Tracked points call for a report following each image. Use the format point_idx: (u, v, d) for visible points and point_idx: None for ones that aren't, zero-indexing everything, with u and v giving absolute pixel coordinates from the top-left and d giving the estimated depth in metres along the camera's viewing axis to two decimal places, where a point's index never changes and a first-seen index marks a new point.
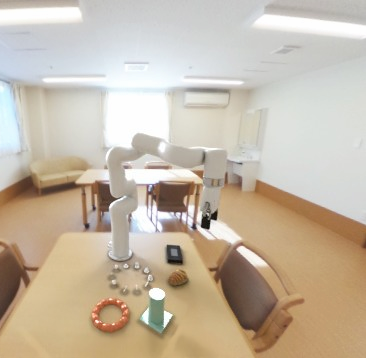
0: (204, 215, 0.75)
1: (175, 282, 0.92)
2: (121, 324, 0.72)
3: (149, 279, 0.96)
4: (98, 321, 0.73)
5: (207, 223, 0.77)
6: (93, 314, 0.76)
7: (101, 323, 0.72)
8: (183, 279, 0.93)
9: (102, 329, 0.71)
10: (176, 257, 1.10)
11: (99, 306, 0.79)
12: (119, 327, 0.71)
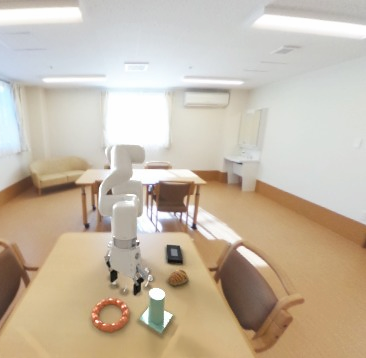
0: None
1: (175, 282, 0.92)
2: (121, 324, 0.72)
3: (149, 279, 0.96)
4: (98, 321, 0.73)
5: None
6: (93, 314, 0.76)
7: (101, 323, 0.72)
8: (183, 279, 0.93)
9: (102, 329, 0.71)
10: (176, 257, 1.10)
11: (99, 306, 0.79)
12: (119, 327, 0.71)
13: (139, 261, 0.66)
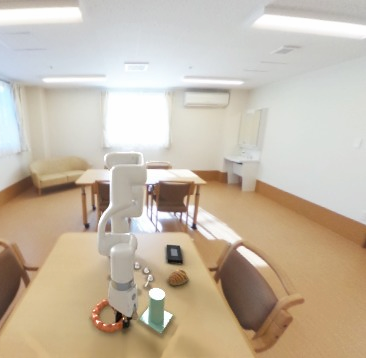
0: None
1: (175, 282, 0.92)
2: (121, 324, 0.72)
3: (149, 279, 0.96)
4: (98, 321, 0.73)
5: None
6: (93, 314, 0.76)
7: (101, 323, 0.72)
8: (183, 279, 0.93)
9: (102, 329, 0.71)
10: (176, 257, 1.10)
11: (99, 306, 0.79)
12: (119, 327, 0.71)
13: (136, 301, 0.69)
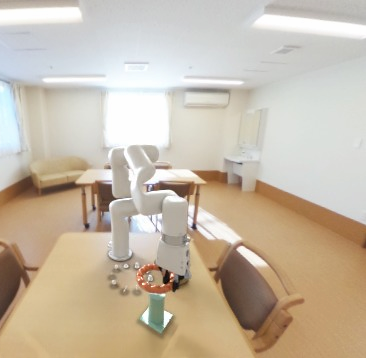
0: None
1: None
2: (171, 285, 0.67)
3: (149, 279, 0.96)
4: (145, 283, 0.68)
5: (163, 279, 0.69)
6: (138, 277, 0.71)
7: (149, 284, 0.67)
8: (183, 279, 0.93)
9: (151, 290, 0.66)
10: None
11: (142, 270, 0.74)
12: (169, 288, 0.66)
13: (189, 258, 0.64)
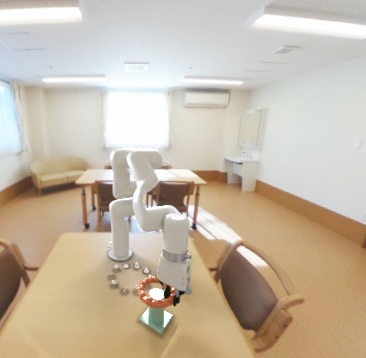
0: None
1: None
2: (172, 300, 0.68)
3: None
4: (147, 297, 0.69)
5: (164, 293, 0.71)
6: (140, 291, 0.72)
7: (150, 299, 0.68)
8: None
9: (152, 305, 0.67)
10: None
11: (144, 283, 0.76)
12: (170, 303, 0.68)
13: (189, 274, 0.65)
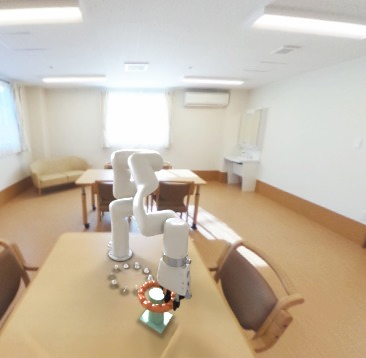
0: None
1: None
2: (172, 304, 0.69)
3: (149, 279, 0.96)
4: (147, 302, 0.69)
5: (164, 297, 0.71)
6: (140, 295, 0.72)
7: (151, 303, 0.69)
8: None
9: (153, 309, 0.67)
10: None
11: (144, 288, 0.76)
12: (170, 307, 0.68)
13: (189, 279, 0.66)
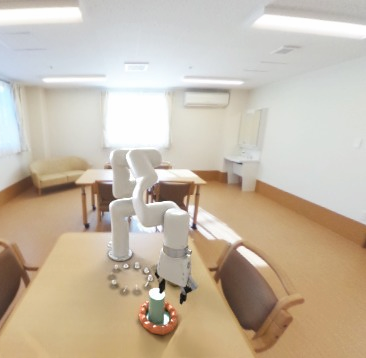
0: None
1: None
2: (172, 326, 0.70)
3: (149, 279, 0.96)
4: (148, 322, 0.71)
5: (159, 285, 0.71)
6: (141, 315, 0.74)
7: (151, 324, 0.70)
8: None
9: (153, 331, 0.69)
10: None
11: (145, 307, 0.77)
12: (170, 329, 0.69)
13: (190, 270, 0.65)
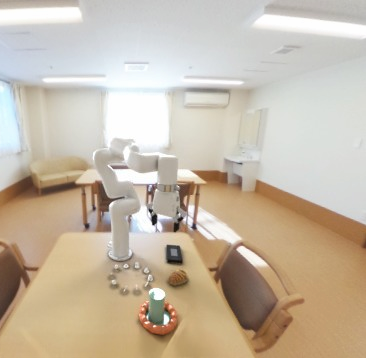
0: None
1: (175, 282, 0.92)
2: (172, 326, 0.70)
3: (149, 279, 0.96)
4: (148, 322, 0.71)
5: (152, 219, 0.87)
6: (141, 315, 0.74)
7: (151, 324, 0.70)
8: (183, 279, 0.93)
9: (153, 331, 0.69)
10: (176, 257, 1.10)
11: (145, 307, 0.77)
12: (170, 329, 0.69)
13: (179, 204, 0.81)
